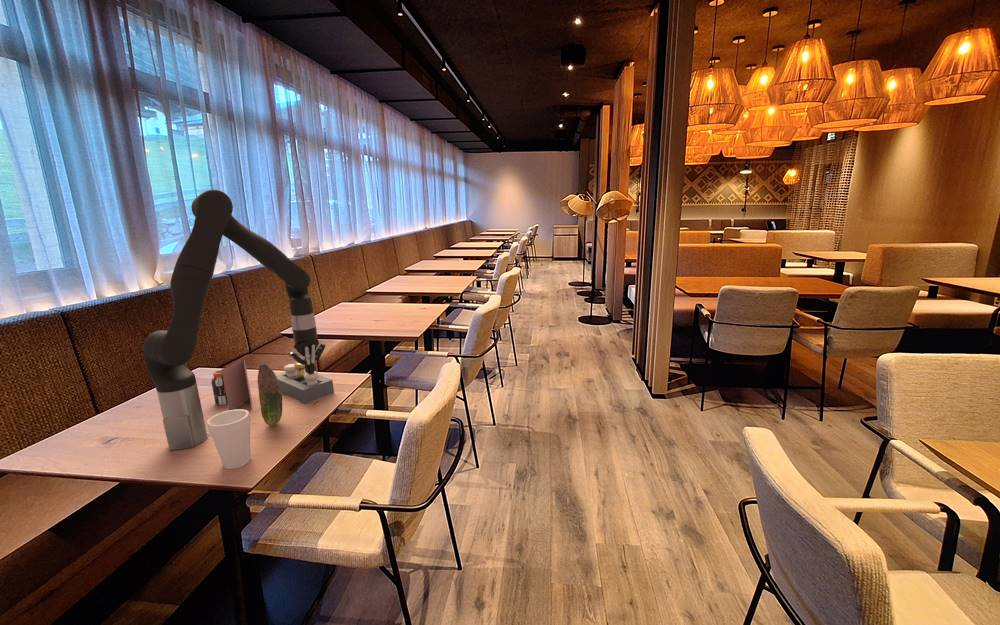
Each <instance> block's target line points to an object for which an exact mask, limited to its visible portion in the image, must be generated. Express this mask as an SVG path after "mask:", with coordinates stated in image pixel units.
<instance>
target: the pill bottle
mask: <svg viewBox="0 0 1000 625" xmlns="http://www.w3.org/2000/svg"><path fill="white" fill-rule="evenodd" d="M212 375H213V378H212V379H211V381H210V382H211V387H212V392H213V397H214V403H215V405H218V406H222V405H224V406H225V405H228V401H227V396H226V391H225V386H224V381H223V375H222V369H221V370H220V369H219V370H216V371H214V372H212Z"/></svg>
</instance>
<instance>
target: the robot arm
mask: <svg viewBox="0 0 1000 625" xmlns="http://www.w3.org/2000/svg"><path fill="white" fill-rule="evenodd" d="M233 206H234V205H233V202H232V199H231V197H230V196H229V195H228V194H227V193H225V192H224V191H222V190H219V189H207V190H205V191H203V192H201V193H199V195H197V196H196V197H195V199H194V200H193V201H192V202H191V207H190V208H191V212H192V214H193V216H194V217H195V218H194V221H193V226H192V230H191V233H190V234H189V237H188V238H187V240H186V241H185V243H184V245H183V247H182V248H181V251H180V253H179V254H178V257H177V259H176V263H175V265H174V268H173V272H172V274H171V278H170V285H169V287H170V294H171V300H172V306H173V308H172V309H173V310H172V318H171V319H170V323H169V327H168V328H167V330H157V331H154V332H152V333H150V334H149V335H148V336H146V338H145V340H144V341H143V346H142V353H143V358H144V361H145V362H144V363H145V366H146V370H147V372H148V375H149V379H150V381H151V382H152V383H153V385H154V386H155V389H156V393H157V398H158V403H159V407H160V410H161V416H162V423H163V428H164V433H165V437H166V441H167V445H168V451H176V450H177V451H178V450H185V449H193V448H195V446H197V445H199V444H202V443H203V442H205V440H207V439H208V433H207V432H208V431H207V427H206V422H205V419H204V418H205V417H204V412H203V408H202V403H201V398H200V394H199V389H198V384H197V379H196V375H195V372H193V371H192V370H190V369H189V368H188V366H186V364H187V363H189V361H190V360H191V359H192V357H193V355H194V354H195V352H196V348H197V342H198V335H199V328H200V323H201V318H202V315H203V310H204V307H205V304H206V300H207V296H208V292H209V289H210V287H211V283H212V280H213V276H214V272H215V267H216V265H217V260H218V257H219V252H220V251H219V250H220V245H221V242H222V239H223V237H225V238H226V239H228V240H230V241H231V242H232V243H234V244H236V245H237V246H238V247H240V248H241V249H242V250H244V252H246V253H248V254H249V255H250V256H251V257H252V258H254V259H255V260H256V261H257V262H259V263H260V264H261V265H262V266H264V267H265V268H266V269H267V270H268V271H270V272H271V273H274V274H275V275H276V276H277V277H279V278H280V279H281V280H282V281H283V282H284V285H285V288H286V289H285V290H286V293H287V296H288V300H289V301H288V302H289V309H290V310H289V311H290V319H291V320H290V321H291V322H290V323H291V328H292V335H293V336H292V337H293V341H294V346H293V348H294V349H292V351H289V352H288V356H289V357H290V358H292V359H294V360H295V361H296V363H297V362H298V363H300V364H303V365H305V368H304V369H305V371H306V373H308V374H313V373H314V371H316V367H315V362H317V361H319V360H320V359H321V356H322V354H323V352H324V350H325V349H326V344H323V343H321V342H320V341H319V339H318V331H317V330H318V329H317V324H316V323H317V322H316V317H315V314H314V308H313V301H312V298H311V296H310V294H309V286H310V285H311V276H310V274H309V273H308V272H307V271H306V270H305V269H304V268H302V267H301V266H300V265H298V264H297V263H295V262H294V261H293V260H292V259H290V258H289V257H288V256H287V255H286V254H285V253H284V252H283V251H282V250H280V249H279V247H277V246H275V245H274V244H273V243H272V242H271V241H269V240H267V239H266V238H264V237H263V236H262V235H260V234H258V233H256V232H254V231H253V230H251V229H249V228H248V227H246V226H244V224H242V223H241V222H240V221H238V220H237V219H236V218H235V217H234V216H233V215H232V214H233V208H234V207H233ZM299 355H300V356H299Z"/></svg>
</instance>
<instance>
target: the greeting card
mask: <svg viewBox="0 0 1000 625" xmlns="http://www.w3.org/2000/svg"><path fill="white" fill-rule="evenodd" d="M221 370H222V375H223V381H224V386H225V391H226V396H227V401H228V404H227V406H228V411H229V410H236V409H237V408H238V407H240V406H241V405H242V404H244V403H245V402H247V401H249V400H250V407H251V408H253V403H252V393H251V388H250V382H249V377H248V370H247V366H246V359H245V357H243V358H242V359H241V358H240V359H239V360H238V361H235V362H234V363H232V364H230V365H228V366H226V367H224V368H221Z"/></svg>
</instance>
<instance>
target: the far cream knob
mask: <svg viewBox="0 0 1000 625" xmlns="http://www.w3.org/2000/svg"><path fill="white" fill-rule="evenodd" d="M294 364H295V363H289V364H286V365H284V366H283V369H284V370H283V371H284V373H287V377H288V378H291V377H294V376H297V370H296V369H295V366H294Z"/></svg>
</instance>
